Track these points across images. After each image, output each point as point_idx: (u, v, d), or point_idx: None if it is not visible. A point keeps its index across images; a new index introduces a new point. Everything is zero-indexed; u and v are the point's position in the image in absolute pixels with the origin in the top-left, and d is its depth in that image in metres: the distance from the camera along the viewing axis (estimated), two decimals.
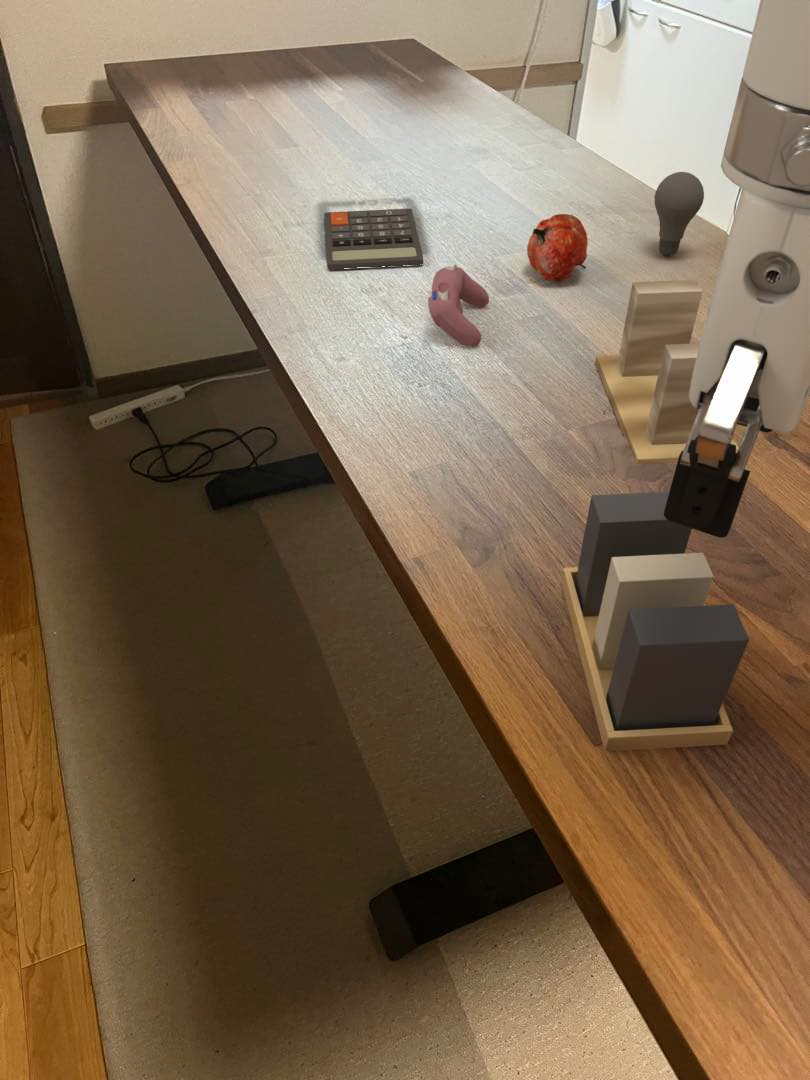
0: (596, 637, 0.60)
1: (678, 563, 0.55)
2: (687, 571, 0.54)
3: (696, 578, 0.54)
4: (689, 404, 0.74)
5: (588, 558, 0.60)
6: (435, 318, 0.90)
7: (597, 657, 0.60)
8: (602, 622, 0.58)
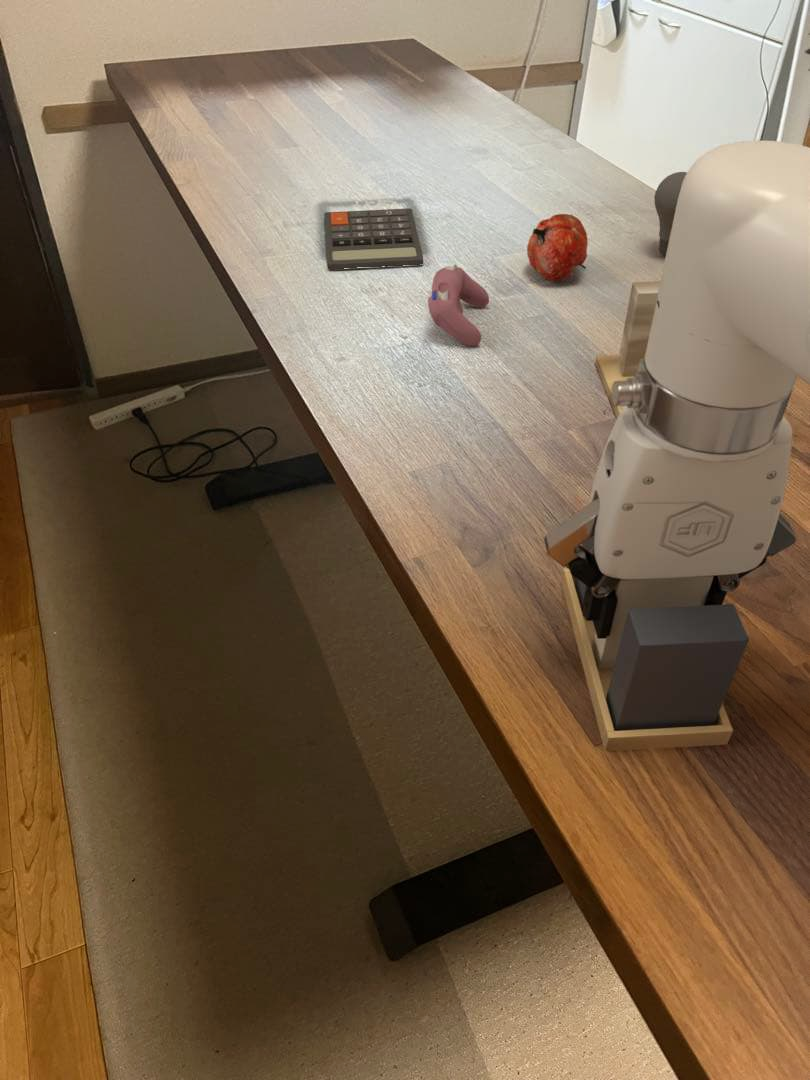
0: (596, 637, 0.60)
1: None
2: None
3: (696, 578, 0.54)
4: None
5: None
6: (435, 318, 0.90)
7: (597, 657, 0.60)
8: None
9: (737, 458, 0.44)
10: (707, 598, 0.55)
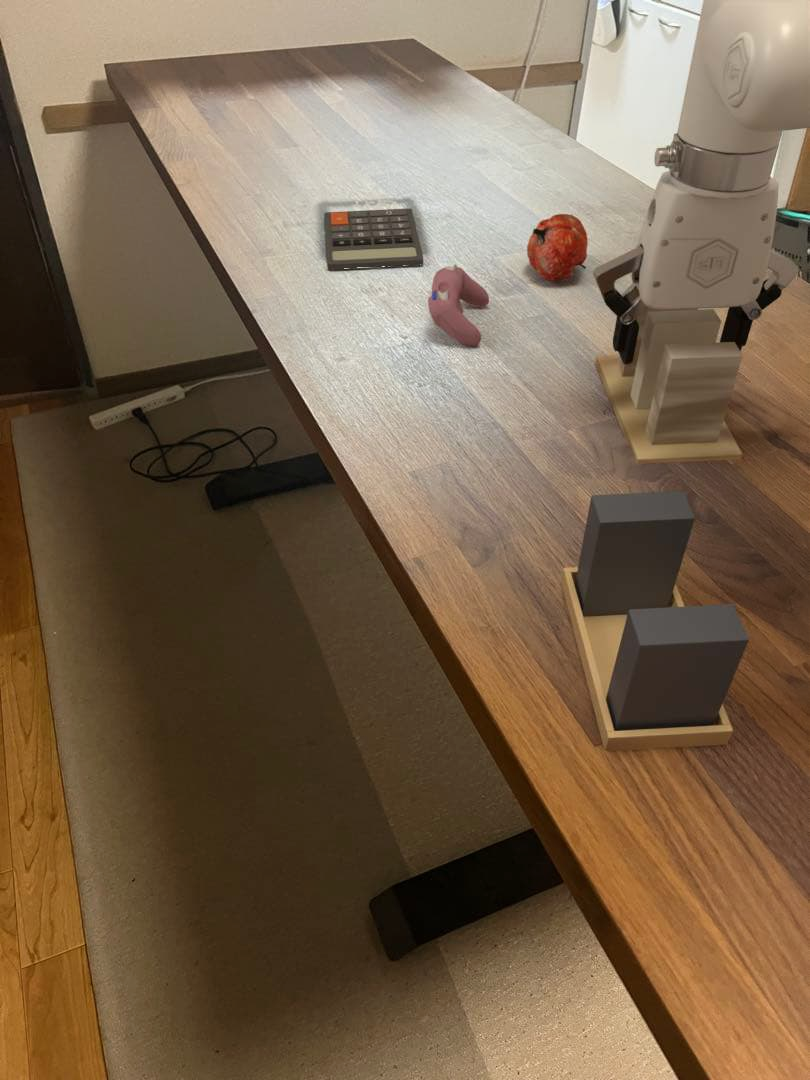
0: (634, 385, 0.81)
1: (695, 314, 0.76)
2: (702, 318, 0.76)
3: (708, 322, 0.75)
4: (689, 404, 0.74)
5: (588, 558, 0.60)
6: (435, 318, 0.90)
7: (635, 399, 0.81)
8: (639, 368, 0.80)
9: (740, 195, 0.65)
10: (738, 326, 0.75)
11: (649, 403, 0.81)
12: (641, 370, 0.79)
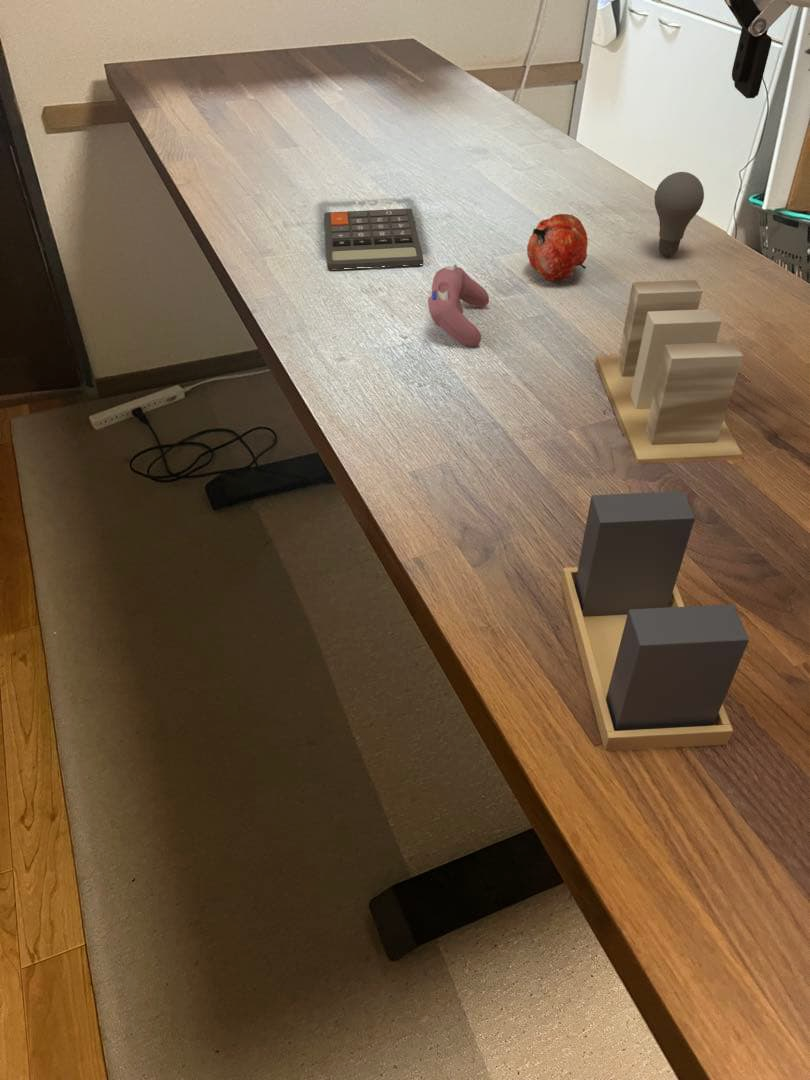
0: (634, 385, 0.81)
1: (695, 314, 0.76)
2: (702, 318, 0.76)
3: (708, 322, 0.75)
4: (689, 404, 0.74)
5: (588, 558, 0.60)
6: (435, 318, 0.90)
7: (635, 399, 0.81)
8: (639, 368, 0.80)
9: None
10: None
11: (649, 403, 0.81)
12: (641, 370, 0.79)
